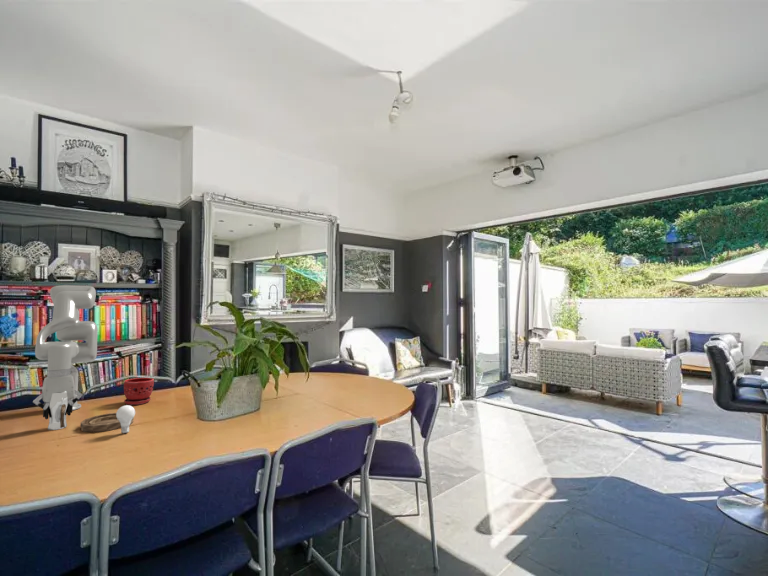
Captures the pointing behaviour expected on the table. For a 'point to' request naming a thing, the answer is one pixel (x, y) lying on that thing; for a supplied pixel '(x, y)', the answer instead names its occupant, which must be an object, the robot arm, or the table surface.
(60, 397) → the beer glass
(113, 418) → the tray
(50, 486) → the table surface
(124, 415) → the lightbulb
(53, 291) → the robot arm
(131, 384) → the plant pot
